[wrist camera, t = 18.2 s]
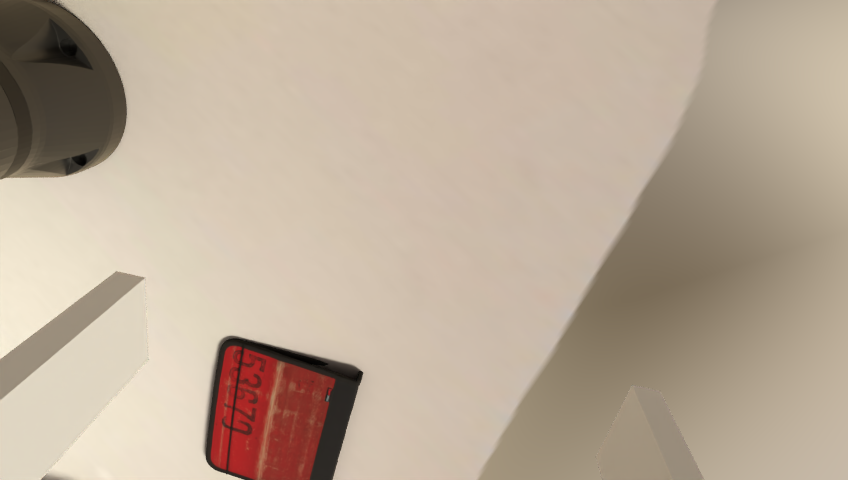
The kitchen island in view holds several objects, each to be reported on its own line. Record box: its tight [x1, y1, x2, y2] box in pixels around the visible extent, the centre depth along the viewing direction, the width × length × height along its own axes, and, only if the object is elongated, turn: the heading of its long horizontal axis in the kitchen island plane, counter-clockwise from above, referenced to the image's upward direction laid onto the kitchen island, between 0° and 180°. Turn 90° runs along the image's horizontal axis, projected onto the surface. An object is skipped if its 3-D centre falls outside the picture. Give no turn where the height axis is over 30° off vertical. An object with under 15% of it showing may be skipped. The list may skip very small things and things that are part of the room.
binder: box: [206, 339, 363, 480], centre depth 59 cm, size 16×2×21 cm
